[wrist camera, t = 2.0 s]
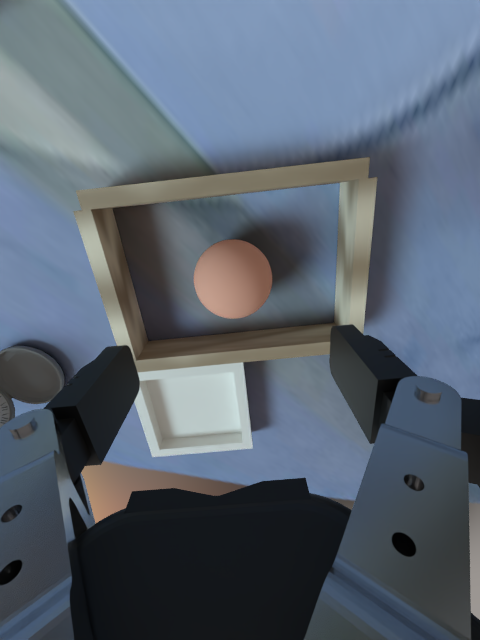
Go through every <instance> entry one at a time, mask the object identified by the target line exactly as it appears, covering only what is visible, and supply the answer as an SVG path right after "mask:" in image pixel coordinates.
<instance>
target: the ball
mask: <svg viewBox="0 0 480 640" xmlns="http://www.w3.org/2000/svg"><path fill="white" fill-rule="evenodd" d="M194 286H195V290H196V293H197V295H198V297H199V299H200V301H201V302H202V304H203V305H204V306H205V307H206V308H207V309H208V310H210V311H211V312H212V313H214V314H216V315H218V316H221V317H224V318H231V319H236V318H242V317H246V316H248V315H251V314H252V313H254V312H255V311H257V310H258V309H259V308H260V307H261V306H262V305H263V304H264V303H265V301H266V300H267V298H268V296H269V294H270V290H271V287H272V272H271V268H270V265H269V262H268V260H267V258H266V257H265V255H264V254H263V253H262V252H261V251H260V250H259V249H258V248H257V247H255V246H254V245H252V244H250V243H248V242H246V241H242V240H236V239H230V240H223V241H220V242H218V243H216V244H214V245H212V246H211V247H209V248H208V249H207V250H206V251H205V252H204V253H203V254H202V255H201V257H200V258H199V260H198V262H197V265H196V268H195V272H194Z"/></svg>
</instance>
